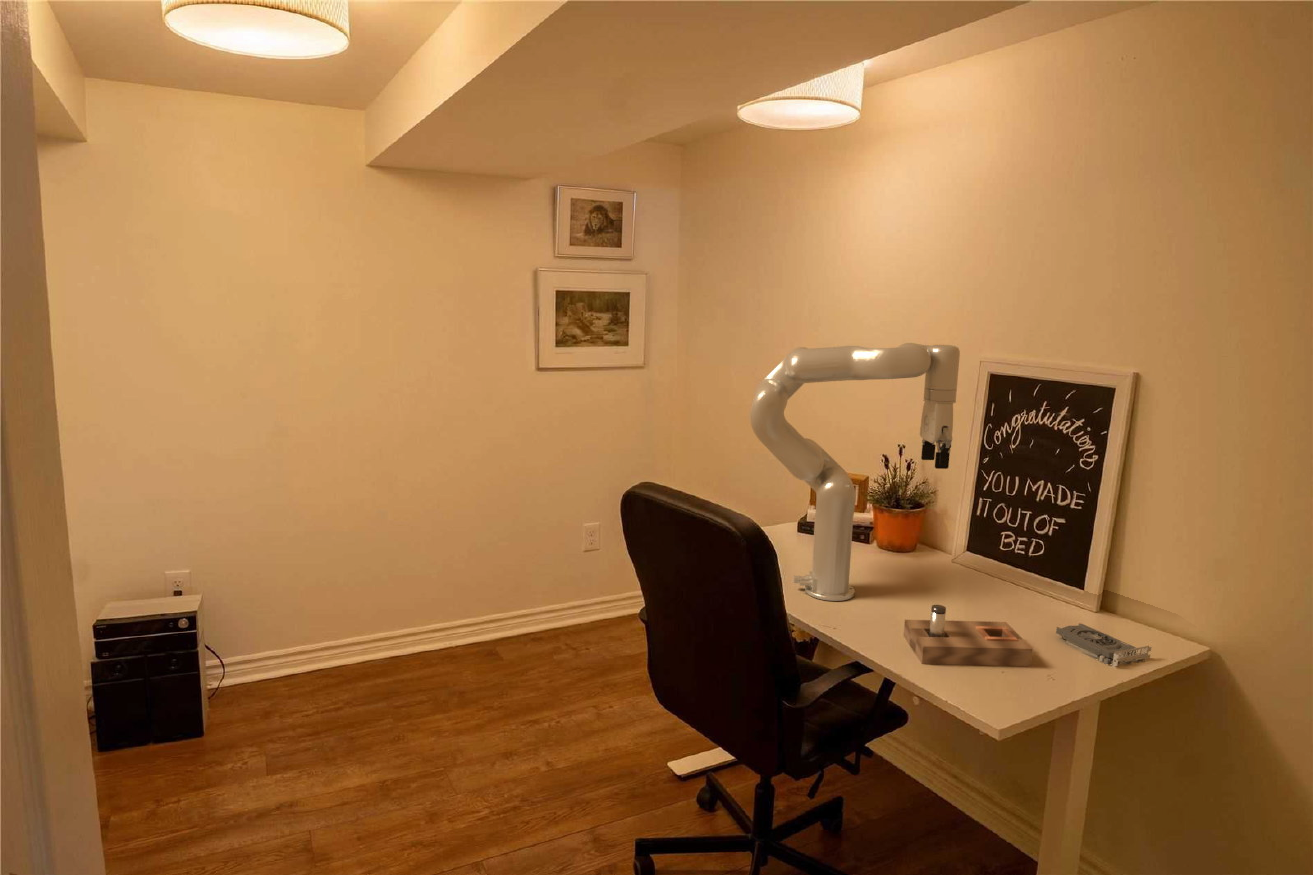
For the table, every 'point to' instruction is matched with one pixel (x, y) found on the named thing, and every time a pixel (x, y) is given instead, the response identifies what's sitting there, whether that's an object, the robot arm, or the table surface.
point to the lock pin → (937, 621)
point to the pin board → (968, 644)
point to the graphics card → (1102, 645)
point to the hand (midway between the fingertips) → (934, 464)
